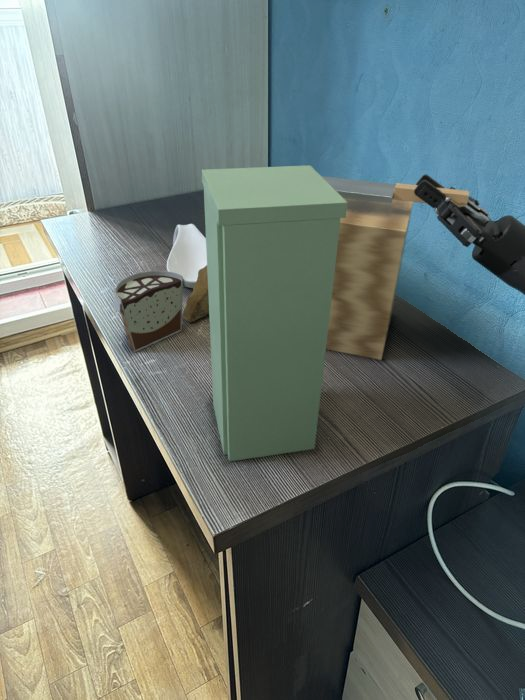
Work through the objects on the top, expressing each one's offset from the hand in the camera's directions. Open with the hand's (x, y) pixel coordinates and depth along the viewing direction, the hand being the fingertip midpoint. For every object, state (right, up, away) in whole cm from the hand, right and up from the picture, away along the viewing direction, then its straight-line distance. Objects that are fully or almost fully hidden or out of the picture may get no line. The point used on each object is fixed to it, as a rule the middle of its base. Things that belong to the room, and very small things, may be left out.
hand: (419, 183), depth 72 cm
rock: (-32, -16, +21) cm, 42 cm away
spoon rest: (-36, -7, +34) cm, 50 cm away
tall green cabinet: (-22, -33, -3) cm, 40 cm away
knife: (-5, -1, +2) cm, 5 cm away
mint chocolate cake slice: (-41, -21, +14) cm, 48 cm away
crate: (-9, -20, +17) cm, 27 cm away
